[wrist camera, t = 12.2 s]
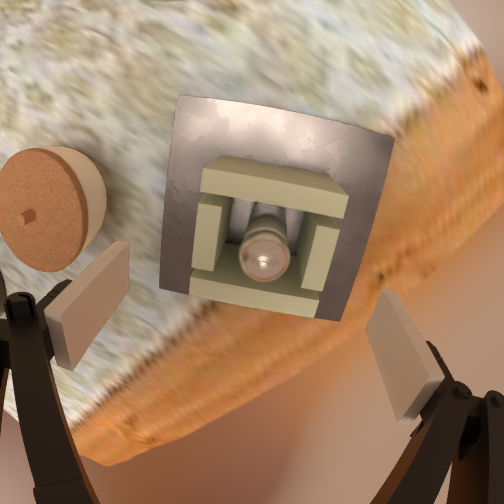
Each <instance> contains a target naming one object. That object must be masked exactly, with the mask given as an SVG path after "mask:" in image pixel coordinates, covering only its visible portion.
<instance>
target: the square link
mask: <svg viewBox="0 0 504 504" xmlns="http://www.w3.org/2000/svg"><path fill="white" fill-rule="evenodd" d="M200 192H205V193H207V194H206V195H205V196H204V197H203V199H202V200H201V201H200V202H199V203H198V210H197V219H196V228H195V237H194V246H193V256H192V266H191V267H192V268H195V269H194V271H193V273H192V275H191V277H190V287H189V296H194V297H199V298H204V299H209V300H214V301H219V302H224V303H230V304H235V305H240V306H246V307H251V308H257V309H262V310H268V311H274V312H279V313H285V314H291V315H297V316H303V317H310V318H314V316H315V313H316V309H317V306H318V303H319V297H318V292H317V291H322V290H323V287H324V284H325V281H326V277H327V274H328V271H329V267H330V264H331V260H332V257H333V253H334V250H335V246H336V243H337V239H338V236H339V232H340V229H339V227H338V225H337V223H336V221H335V220H334V218H333V217H337V218H341V219H343V217H344V213H345V210H346V206H347V202H348V198H349V196H348V194H347V193H346V192H345V191H344V190H343V189H342V188H341V187H340V185H339V184H338V183H337V182H336V181H335V180H334V179H333V178H332V177H331V176H328V175H324V174H319V173H315V172H310V171H305V170H301V169H296V168H291V167H286V166H281V165H275V164H270V163H265V162H259V161H254V160H248V159H242V158H236V157H230V156H224V155H221V156H220V157H218V158H217V159H215V160H214V161H212V162H211V163H209V164H208V165H207V166H205V167H204V168H203V172H202V179H201V187H200ZM233 198H240V199H245V200H251V201H256V202H262V203H267V204H272V205H278V206H283V207H288V208H293V209H298V210H303V211H305V212H304V216H303V220H302V225H301V229H300V233H299V237H298V242H297V246H296V252H297V256H293V255H291V258H290V263H289V266H288V268H287V270H286V271H285V273H284V274H283V275H282V276H280V277H279V278H277V279H275V280H273V281H269V282H259V281H256V280H253V279H251V278H250V277H248V276H247V275H246V274H245V273H244V272H243V270H242V269H241V267H240V264H239V260H238V251H239V247H240V246H239V245H234V244H228V243H225V240H226V238H227V236H228V230H229V223H230V217H231V210H232V204H233Z"/></svg>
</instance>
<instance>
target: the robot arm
mask: <svg viewBox="0 0 504 504" xmlns="http://www.w3.org/2000/svg"><path fill="white" fill-rule="evenodd" d="M128 290H129V243H128V242H123V241H117V240H116V241H115V242H113V243H112V244H111V245H110V246H109V247H108V248H107V249H106V250H105V251H104V252H103V253H101V254H100V255H99V256H98V257H97V258H96V259H95V260H94V261H93V262H92V263H91V264H90V265H89V266H88V267H87V268H85V269H84V270H83V271H82V272H81V273H80V274H79V275H78V276H77V277H76V278H75V279H74V280H73V281H72V280H68V279H67V280H64V281H62V282H60V283H58V284H57V285H56V286H55V287H54V288H53V289H52V290H51V291H50V292H49V293H48V294H47V295H46V296H44V297H43V298H42V299H41V300H40V301H39V302H38V303H37V304H36V303H35V299H34V297H33V295H32V294H30V293H27V292H17V293H13V294H11V295H9V296H8V297H7V298H6V293H5V287H4V283H3V279H2V276H1V273H0V316H1V315H2V313H3V312H4V310H5V313H6V317H7V319H0V432H1V422H2V413H3V405H4V398H5V391H6V385H7V379H8V373H9V369H11V371H12V380H13V387H14V394H15V401H16V407H17V413H18V418H19V423H20V428H21V433H22V437H23V442H24V446H25V450H26V454H27V458H28V462H29V465H30V469H31V472H32V476H33V479H34V483H35V487H34V488H33V494H34V497H35V501H36V504H100V502H99V500H98V498H97V496H96V494H95V492H94V490H93V487H92V485H91V483H90V481H89V478H88V476H87V474H86V472H85V469H84V467H83V464H82V462H81V459H80V457H79V454H78V452H77V449H76V446H75V444H74V441H73V438H72V435H71V432H70V430H69V427H68V424H67V421H66V418H65V414H64V411H63V408H62V405H61V401H60V398H59V395H58V391H57V387H56V384H55V380H54V376H53V372H52V368H51V364H50V360H51V359H52V358H53V356H55V359H56V363H57V366H60V367H63V368H65V369H68V370H71V371H73V370H74V368H75V367H76V365H77V364H78V362H79V361H80V359H81V358H82V356H83V355H84V353H85V352H86V350H87V349H88V347H89V346H90V344H91V343H92V341H93V340H94V338H95V337H96V336H97V334H98V333H99V331H100V330H101V328H102V327H103V325H104V324H105V323H106V321H107V320H108V318H109V317H110V315H111V314H112V313H113V311H114V310H115V308H116V307H117V306H118V304H119V303H120V301H121V300H122V299H123V297H124V296H125V295H126V293H127V292H128ZM365 331H366V333H367V336H368V339H369V342H370V344H371V347H372V350H373V352H374V355H375V358H376V361H377V363H378V366H379V369H380V372H381V375H382V377H383V380H384V383H385V386H386V389H387V392H388V395H389V398H390V401H391V404H392V407H393V410H394V413H395V416H396V419H397V423H413V421H414V420H415V419H416V418H417V416H418V415H419V414H420V416H421V418H422V421H421V422H420V424H419V425H418V426H417V427H416V429H415V430H414V431H413V432H412V434H411V435H410V437H412V438H411V440H410V441H409V443H408V445H407V447H406V448H405V450H404V452H403V454H402V455H401V457H400V459H399V460H398V462H397V464H396V465H395V467H394V469H393V470H392V472H391V473H390V475H389V476H388V478H387V480H386V481H385V482H384V484H383V486H382V487H381V488H380V490H379V491H378V493H377V494H376V496H375V497H374V499H373V500H372V501H371V503H370V504H434V502H435V499H436V497H437V495H438V493H439V491H440V489H441V486H442V484H443V482H444V479H445V477H446V475H447V472H448V470H449V467H450V465H451V462H452V468H451V476H450V484H449V491H448V497H447V503H446V504H504V396H503V395H502V394H501V393H499V392H497V391H493V390H491V391H488V392H487V394H486V395H485V397H484V398H480V397H476V396H472V392H471V390H470V389H469V388H468V387H467V386H466V385H465V384H463V383H461V382H459V381H454V379H453V377H452V375H451V373H450V372H449V370H448V368H447V366H446V365H445V363H444V361H443V359H442V357H440V354H439V352H438V350H437V349H436V347H435V346H433V345H432V344H431V343H430V342H429V341H425V339H424V338H423V336H422V334H421V332H420V331H419V329H418V327H417V326H416V324H415V322H414V321H413V319H412V317H411V316H410V314H409V312H408V310H407V309H406V307H405V305H404V304H403V302H402V301H401V299H400V297H399V296H398V294H397V292H396V291H395V290H391V289H385V288H382V291H381V293H380V296H379V298H378V301H377V304H376V306H375V309H374V311H373V313H372V316H371V318H370V321H369V323H368V325H367V328H366V330H365Z"/></svg>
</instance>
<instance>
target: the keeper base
mask: <svg viewBox="0 0 504 504" xmlns="http://www.w3.org/2000/svg"><path fill="white" fill-rule="evenodd" d="M394 139H395V138H393V137H390V136H387V135H384V134H380V133H377V132H373V131H370V130H366V129H363V128H359V127H356V126H352V125H348V124H344V123H340V122H336V121H332V120H328V119H324V118H320V117H315V116H311V115H306V114H302V113H297V112H292V111H287V110H282V109H277V108H271V107H266V106H260V105H254V104H248V103H241V102H234V101H227V100H219V99H211V98H203V97H193V96H183V95H178V99H177V105H176V111H175V118H174V125H173V132H172V140H171V148H170V156H169V164H168V173H167V183H166V193H165V204H164V215H163V228H162V243H161V260H160V281H159V288H161V289H165V290H170V291H174V292H179V293H184V294H188V295H189V287H190V277H191V275H192V273H193V271H194V269H195V268H192V267H191V266H192V256H193V246H194V237H195V228H196V219H197V210H198V203H199V202H200V201H201V200H202V199H203V197H204V196H205V195H206V194H207V193H205V192H200V187H201V179H202V172H203V168H204V167H205V166H207V165H208V164H209V163H211V162H212V161H214V160H215V159H217V158H218V157H220V156H221V155H224V156H230V157H236V158H242V159H248V160H254V161H259V162H265V163H270V164H275V165H281V166H286V167H291V168H296V169H301V170H305V171H310V172H315V173H319V174H324V175H328V176H331V177H332V178H333V179H334V180H335V181H336V182H337V183H338V184H339V185H340V187H341V188H342V189H343V190H344V191H345V192H346V193H347V194H348V196H349V198H348V202H347V206H346V210H345V213H344V217H343V219H341V218H337V217H333V218H334V220H335V221H336V223H337V225H338V227H339V229H340V232H339V236H338V239H337V243H336V246H335V250H334V253H333V257H332V260H331V264H330V267H329V271H328V274H327V277H326V281H325V284H324V287H323V290H322V291H317V292H318V297H319V303H318V306H317V309H316V313H315V316H314V318H319V319H326V320H332V321H339V322H340V320H341V317H342V315H343V312H344V309H345V306H346V304H347V301H348V298H349V295H350V292H351V290H352V287H353V284H354V281H355V278H356V275H357V272H358V269H359V266H360V263H361V260H362V257H363V254H364V250H365V247H366V244H367V241H368V238H369V234H370V231H371V228H372V224H373V221H374V217H375V214H376V210H377V207H378V203H379V200H380V196H381V192H382V188H383V185H384V181H385V177H386V173H387V169H388V165H389V161H390V156H391V152H392V148H393V143H394ZM304 212H305V211H303V210H298V209H293V208H288V207H283V206H278V205H272V204H267V203H262V202H256V201H251V200H245V199H240V198H233V204H232V210H231V217H230V223H229V230H228V236H227V238H226V240H225V243H228V244H234V245H239V246H240V247H239V251H238V260H239V264H240V267H241V269H242V270H243V272H244V273H245V274H246V275H247V276H248V277H250V278H251V279H253V280H256V281H259V282H269V281H273V280H275V279H277V278H279V277H280V276H282V275H283V274H284V273H285V271H286V270H287V268H288V266H289V263H290V258H291V255H293V256H297V252H296V246H297V242H298V237H299V233H300V229H301V225H302V220H303V216H304Z"/></svg>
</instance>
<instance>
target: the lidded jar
mask: <svg viewBox="0 0 504 504" xmlns="http://www.w3.org/2000/svg"><path fill="white" fill-rule="evenodd" d="M106 206H107V196H106V188H105V185H104V181H103V179H102V176H101V174H100V172H99V171H98V169H97V167H96V166H95V165H94V164H93V162H92V161H91V160H90V159H89V158H88V157H86V156H85V155H83V154H82V153H80V152H78V151H76V150H74V149H71V148H66V147H60V146H54V147H42V148H32V149H27V150H24V151H20V152H18V153H17V154H15V155H13V156H12V157H11V158H10V159H9V160H8V161H7V162H6V164H5V165H4V167H3V168H2V170H1V172H0V231H1V233H2V235H3V237H4V239H5V241H6V243H7V245H8V246H9V248H10V249H11V250H12V252H13V253H14V254H15V255H16V256H17V257H18V258H19V259H20V260H21V261H22V262H23V263H25V264H26V265H28V266H29V267H31V268H34V269H36V270H39V271H43V272H55V271H59V270H61V269H64V268H65V267H66V266H68V265H69V264H71V263H72V262H73V261H74V260H75V259H76V257H77V256H78V255H79V254H80V253H81V252H83V251H84V250H85V249H86V247H87V246H88V245H89V244H90V243H91V242H92V241H93V239H94V238H95V236H96V235H97V233H98V231H99V230H100V228H101V225H102V223H103V220H104V217H105V213H106Z"/></svg>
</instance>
